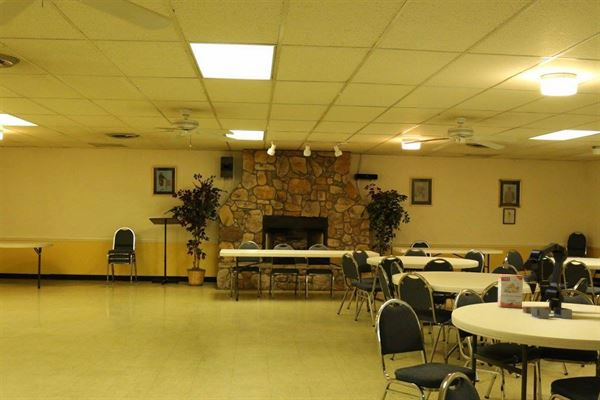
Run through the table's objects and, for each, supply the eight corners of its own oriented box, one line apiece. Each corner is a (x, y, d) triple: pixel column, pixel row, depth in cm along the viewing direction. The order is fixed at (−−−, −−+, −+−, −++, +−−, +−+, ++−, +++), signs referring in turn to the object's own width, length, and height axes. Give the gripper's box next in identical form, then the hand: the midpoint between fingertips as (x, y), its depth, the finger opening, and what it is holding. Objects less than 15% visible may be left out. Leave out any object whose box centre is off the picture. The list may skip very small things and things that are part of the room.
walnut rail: (547, 312, 342) (547, 306, 342) (550, 313, 338) (550, 307, 338) (523, 312, 339) (523, 306, 340) (526, 313, 336) (526, 307, 336)
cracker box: (500, 307, 356) (501, 274, 357) (497, 306, 362) (497, 273, 363) (522, 308, 355) (523, 275, 356) (519, 306, 362) (519, 274, 362)
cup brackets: (564, 316, 329) (564, 307, 330) (573, 318, 322) (573, 309, 322) (530, 316, 326) (530, 307, 326) (537, 318, 318) (537, 309, 319)
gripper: (517, 268, 348) (516, 293, 347) (533, 271, 329) (533, 298, 329) (533, 268, 349) (533, 293, 349) (551, 271, 331) (550, 298, 330)
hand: (537, 295), depth 339 cm, fingers open, 9 cm apart
